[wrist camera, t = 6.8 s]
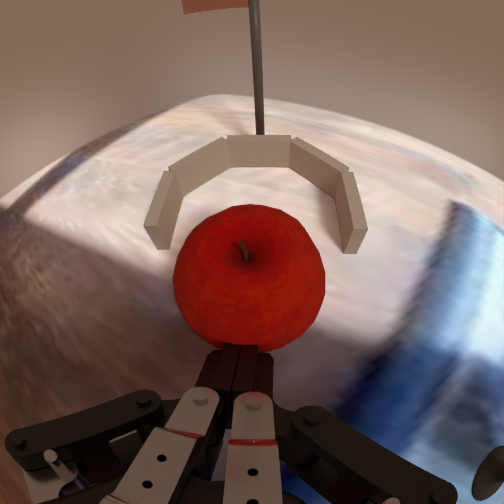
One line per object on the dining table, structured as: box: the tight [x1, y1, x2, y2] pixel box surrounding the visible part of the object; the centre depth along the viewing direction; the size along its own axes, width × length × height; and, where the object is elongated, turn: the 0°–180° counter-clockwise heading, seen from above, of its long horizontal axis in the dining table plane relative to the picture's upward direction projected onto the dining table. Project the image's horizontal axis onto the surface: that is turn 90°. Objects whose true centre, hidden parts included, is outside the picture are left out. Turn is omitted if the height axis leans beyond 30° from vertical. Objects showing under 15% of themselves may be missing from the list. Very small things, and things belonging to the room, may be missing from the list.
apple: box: [173, 204, 325, 353], centre depth 14 cm, size 8×8×7 cm
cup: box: [144, 0, 368, 254], centre depth 15 cm, size 13×15×18 cm
